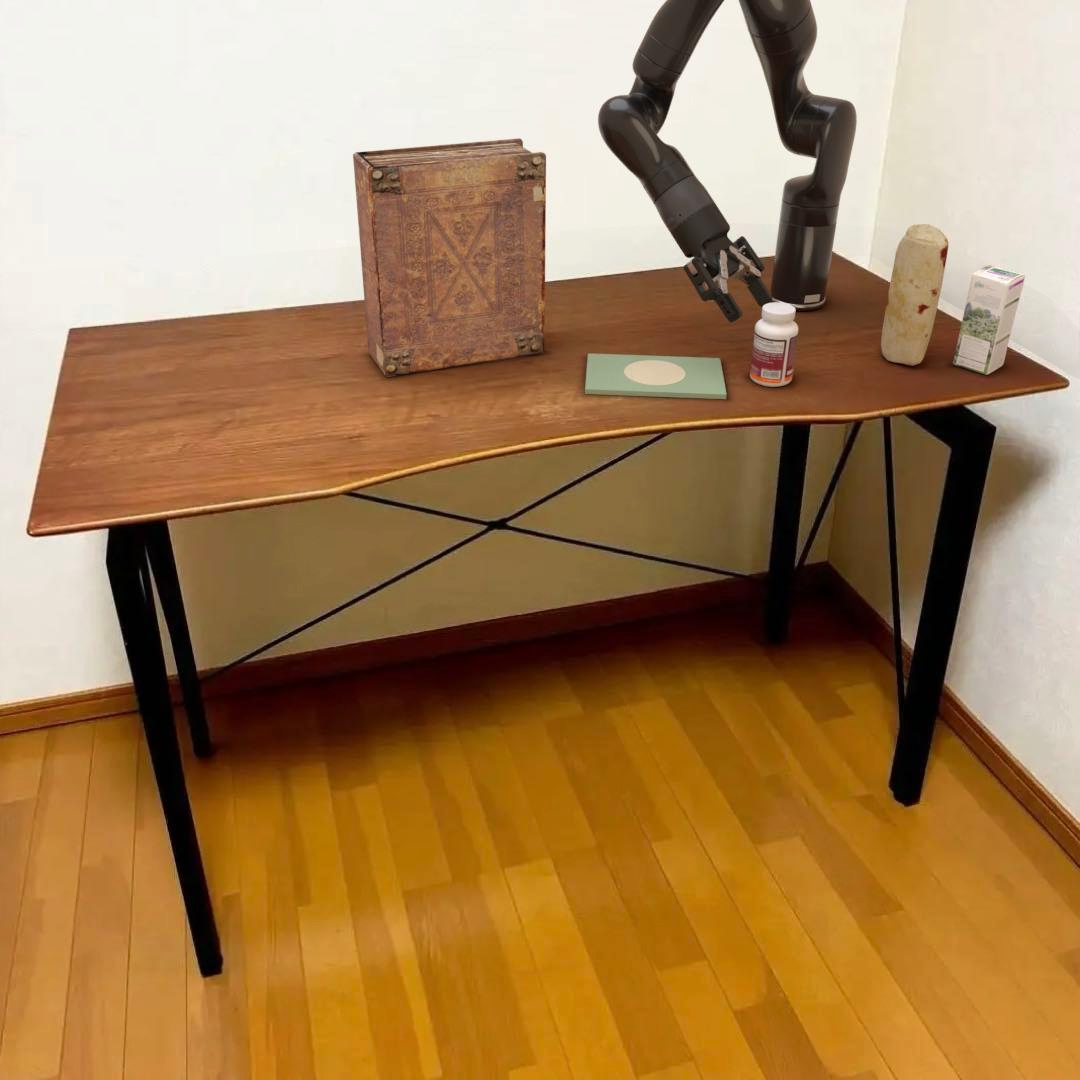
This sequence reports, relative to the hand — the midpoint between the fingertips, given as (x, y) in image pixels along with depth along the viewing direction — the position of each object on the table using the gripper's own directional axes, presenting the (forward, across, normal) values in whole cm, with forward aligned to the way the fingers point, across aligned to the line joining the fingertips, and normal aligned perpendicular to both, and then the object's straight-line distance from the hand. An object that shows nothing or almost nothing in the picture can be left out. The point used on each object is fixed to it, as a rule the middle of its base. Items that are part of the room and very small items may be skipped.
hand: (752, 311), depth 161 cm
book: (-19, -23, +33) cm, 45 cm away
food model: (+18, +20, -4) cm, 27 cm away
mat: (0, -10, +13) cm, 17 cm away
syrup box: (+25, +25, -11) cm, 37 cm away
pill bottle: (+10, 0, +4) cm, 11 cm away
